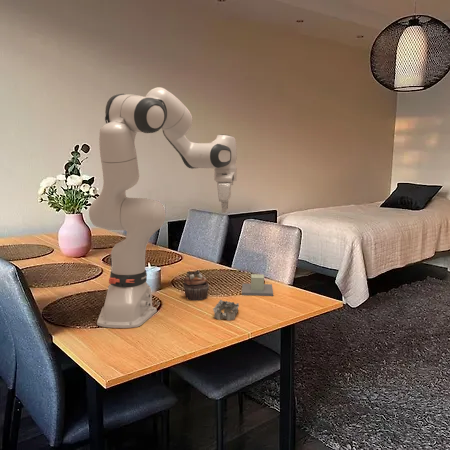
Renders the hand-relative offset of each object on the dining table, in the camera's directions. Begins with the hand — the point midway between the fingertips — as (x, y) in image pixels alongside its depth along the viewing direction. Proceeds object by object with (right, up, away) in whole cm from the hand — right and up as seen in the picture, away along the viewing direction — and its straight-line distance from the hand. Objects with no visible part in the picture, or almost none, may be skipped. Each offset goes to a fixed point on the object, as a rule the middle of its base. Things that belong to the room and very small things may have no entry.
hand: (224, 210), depth 184 cm
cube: (+13, -31, -4) cm, 33 cm away
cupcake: (-11, -33, -12) cm, 37 cm away
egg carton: (0, -36, -30) cm, 47 cm away
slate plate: (+13, -32, -3) cm, 34 cm away
